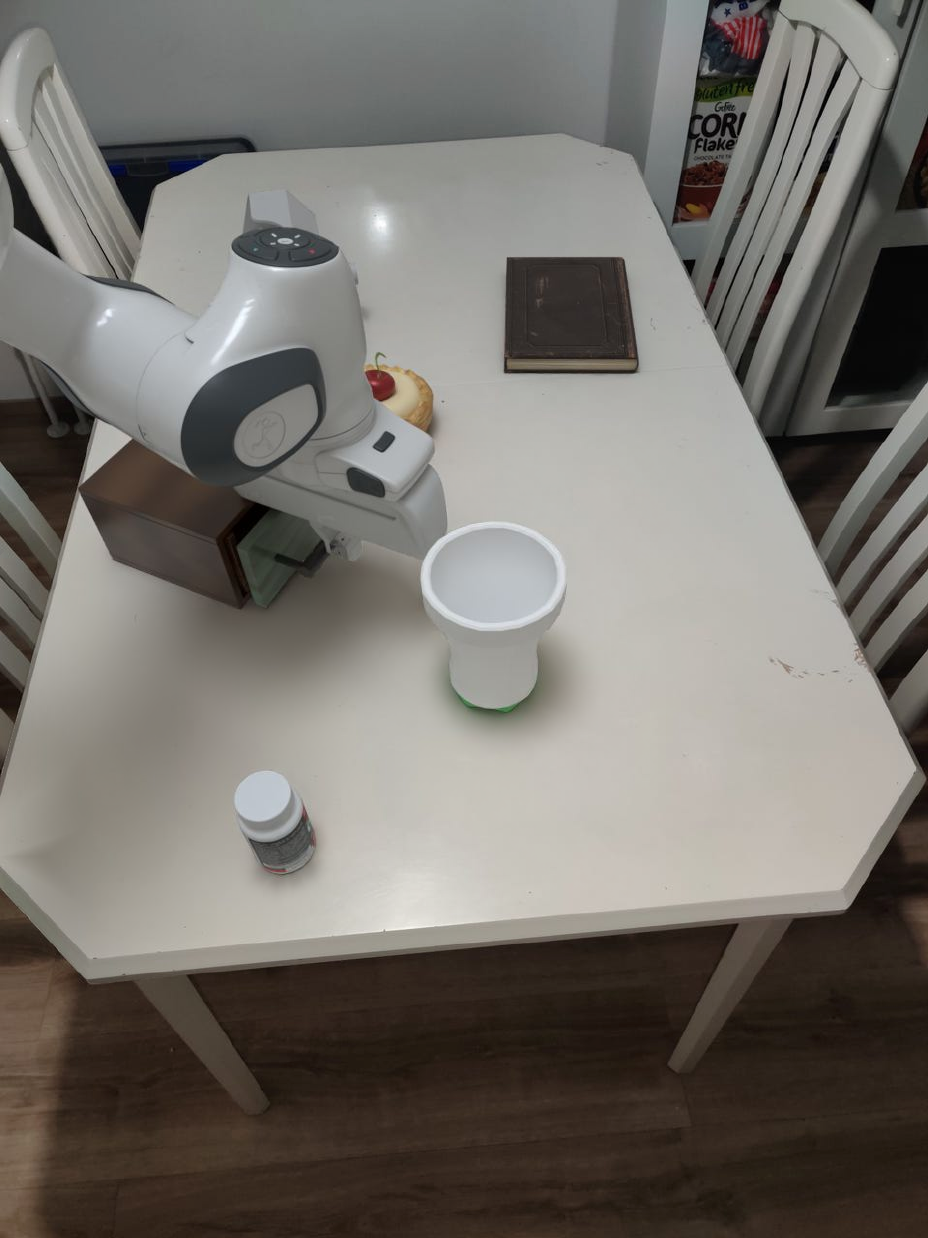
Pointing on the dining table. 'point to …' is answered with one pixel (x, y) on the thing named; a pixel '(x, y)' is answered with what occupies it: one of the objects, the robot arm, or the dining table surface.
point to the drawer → (272, 551)
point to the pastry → (401, 393)
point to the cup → (493, 607)
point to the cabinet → (166, 521)
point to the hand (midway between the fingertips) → (345, 552)
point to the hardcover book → (568, 316)
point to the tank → (280, 214)
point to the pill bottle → (274, 822)
